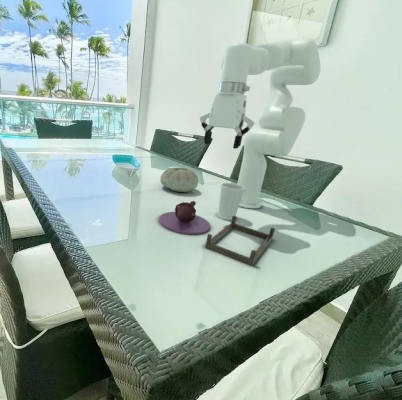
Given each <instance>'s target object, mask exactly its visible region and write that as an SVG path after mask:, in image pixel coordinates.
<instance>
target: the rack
mask: <svg viewBox="0 0 402 400" xmlns="http://www.w3.org/2000/svg"><path fill="white" fill-rule="evenodd" d="M236 220H237V215H236V216H233V217H232V220H230V221H231V222H230V223H229V224H228V225H227V226H226V227H224V228H223V229H221V230H220V231H219V232H218V233H217V234H215V235H214V236H213V235H212V234H211V233H208V234H207V236H206V241H205V249H209V250H211V251H213V252H216V253H218V254H220V255H223V256H226V257H228V258H231V259H233V260H236V261H238V262H241V263H243V264H247V265H248V266H251V267H252V266H254V264H255V263H256V261H257V260H258V259H259V258H260V256H261V255H262V254H263V252H264V251H265V249H266V248H267V247H268V246H269V244H270V243H271V241H273V238H274V234H275V230H276V228H275V227H270V229H269V232H268V233H266V232H264V231H261V230H257V229H253V228H250V227H248V226H245V225H241V224H238V223H236ZM233 229H235V230H237V231H241V232H242V233H243V232H244V233H246V234H249V235H251V236H252V235H253V236H255V237H259V238H262V239H264V241H263V242H262V243H261V244H260V246H259V247H258V248H257V249H251V251H250V254H249V257H248V256H246V255H244V254H241V253H238V252H236V251H234V250H231V249H229V248H225V247H223V246H220V245H217V244H216V243H217V242H218V241H220V240H221V239H222V238H223V237H224V236H226V235H227V234H228V233H229V232H230V231H232V230H233Z"/></svg>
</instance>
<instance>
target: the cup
mask: <svg viewBox="0 0 402 400" xmlns="http://www.w3.org/2000/svg"><path fill="white" fill-rule="evenodd" d="M244 189H245V188H244V187H243V186H241V185H238V184H237V183H233V182H222V183H221V185H220V194H219V202H218V212H217V217H218V218H220V219H222V220H226V221H232V217H233V216H236V217H237V213H238V209H239V207H240V206H239V204H240V201H241V197H242V195H243V192H244Z"/></svg>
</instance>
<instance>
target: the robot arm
mask: <svg viewBox="0 0 402 400" xmlns="http://www.w3.org/2000/svg"><path fill="white" fill-rule="evenodd" d="M220 67H221V73H220V79H219V86H218V91H217V93H216V94H215V96H214V98H213V101H212V105H211V108H210V112H208V113H206V114H204V115H202V116H200V117H199V120H200V123H201V128H202V129H203V131H204V138H203V141H204V145H209V144H211V142H212V141H211V140H212V134H213V132H212V130H213V129H214V128H223V129H231V130H232V129H234V131H235V133H236V135H235V136H234V141H233V146H232V149H235V150H236V149H239V147H241V144H242V140H243V154H242V155H243V156H242V160H241V165H240V169H239V174H238V179H237V183H236V184H238V185H241V186H243V187H244V188H245V189H244V192H243V195H242V197H241V201H240V204H239V207H241V208H246V209H260V208H261V207H262V202H260V203H258V201H259V199H260V196H261V191H262V187H263V183H264V179H265V175H266V171H267V166H268V163H267V160H266V157H265V155H267V156H273V157H279V158H283V157H286V156H288V155H289V154H290V152H291V151H292V149H293V148H294V145H295V143H296V141H297V140H298V137H299V136H300V134H301V132H302V129H303V127H304V124H305V122H306V121H305V120H306V112H305V110H304V109H303V108H301V107H297V106H292V104H293V95H292V93H291V91H290V89H288V87H287V86H309V85H312V84H314V83H316V82H317V80H318V79H319V77H320V74H321V60H320V53H319V48H318V45H317V42H316V41H315V40H314V39H313V38H311V37H304V38H294V39H283V40H278V41H273V42H265V43H261V44H257V45H251V44H249V43H246V42H233V43H230V44H228V45H227V46H226V48H225V51H224V55H223V56H222V59H221V62H220ZM265 71H270V75H269V86H270V87H269V89H270V93H269V95H270V96H269V98H268V100H267V102H266V104H265V106H264V108H263V110H262V112H261V113H260V116H259V118H258V126H259V127H255V128H253V126H255V121H253V120H252V119H250V118H249V117H247V116H246V111H247V95H245V94H246V92H250V90H251V86H250V85H247V81H248V77H249V76H257V75H262V74H263V73H264V72H265ZM207 119H208V123H207ZM244 124H247V125H246V126H245V127H244ZM243 127H244V128H243ZM243 136H244V139H243Z"/></svg>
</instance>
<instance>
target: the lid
mask: <svg viewBox="0 0 402 400" xmlns="http://www.w3.org/2000/svg"><path fill="white" fill-rule="evenodd" d="M158 221H159V224H160V225H161V226H162V227H163V228H165V229H166V230H168V231H171V232H174V233H177V234H182V235H190V236H191V235H192V236H193V235H194V236H197V235H203V234H206V233H207V232H209V231H210V229H211V224H210V222H209V221H208V220H207V219H205V218H204V217H202V216H200V215H197V214H195V218H194V220H192V221H190V222H189V223H186V222H182V221H180V220H179V219H178V218H177V217H176V215H175V211H168V212H165V213H162V214H161V215H160V216H159V218H158Z"/></svg>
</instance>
